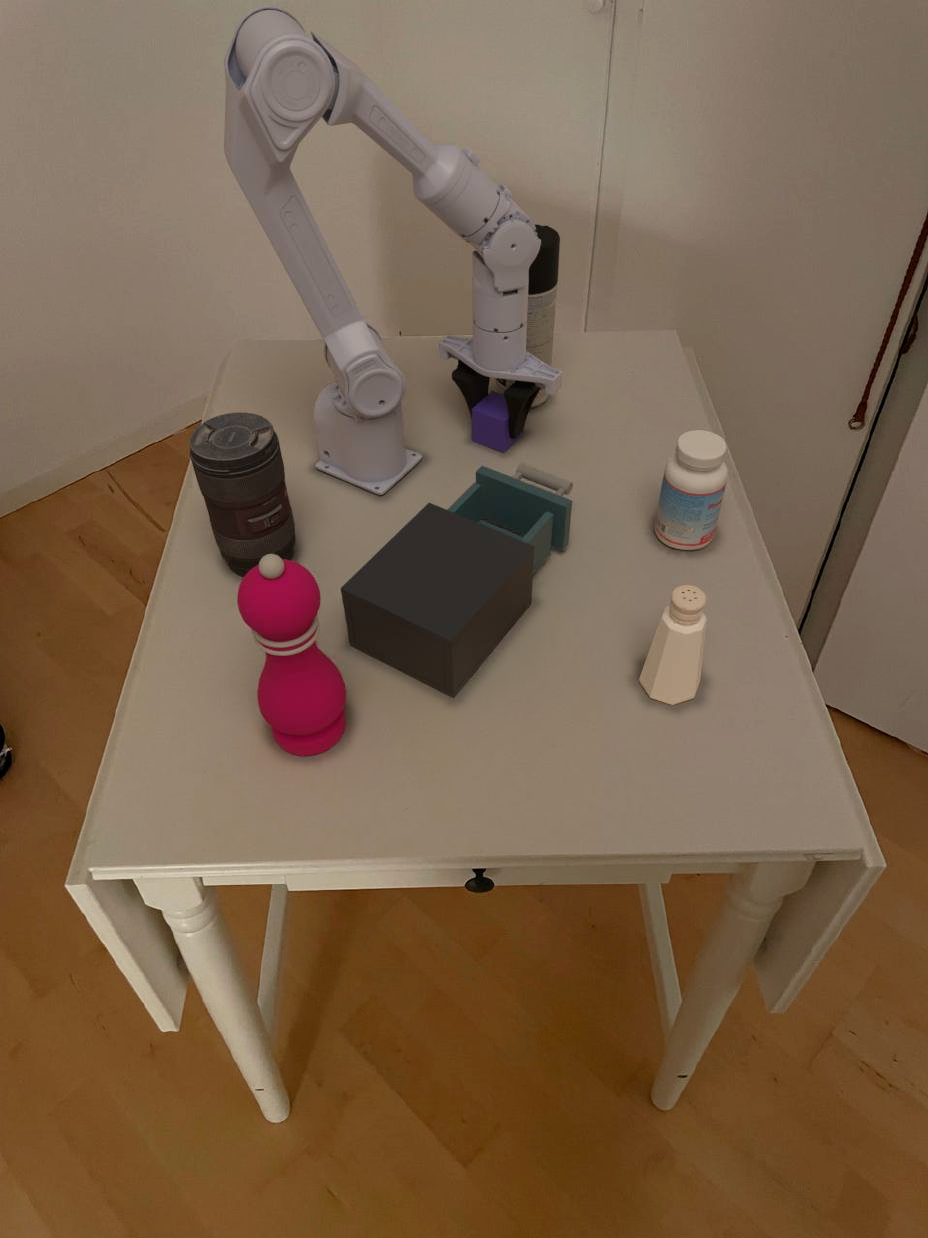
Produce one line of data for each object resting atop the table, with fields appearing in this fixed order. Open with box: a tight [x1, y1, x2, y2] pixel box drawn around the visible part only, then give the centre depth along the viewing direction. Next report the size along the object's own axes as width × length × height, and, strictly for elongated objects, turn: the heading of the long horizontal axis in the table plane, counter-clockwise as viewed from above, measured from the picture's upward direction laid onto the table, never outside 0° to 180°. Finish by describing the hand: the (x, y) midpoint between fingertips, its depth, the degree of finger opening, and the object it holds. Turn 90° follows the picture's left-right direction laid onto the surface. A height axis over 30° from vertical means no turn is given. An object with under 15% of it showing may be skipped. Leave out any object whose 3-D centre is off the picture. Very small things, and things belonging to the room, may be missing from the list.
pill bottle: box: [654, 429, 729, 551], centre depth 91 cm, size 6×6×11 cm
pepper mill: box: [236, 554, 347, 757], centre depth 71 cm, size 7×7×20 cm
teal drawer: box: [446, 462, 574, 575], centre depth 90 cm, size 17×10×6 cm, turn 147°
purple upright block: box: [471, 390, 525, 454], centre depth 105 cm, size 4×4×4 cm
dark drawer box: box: [340, 502, 534, 699], centre depth 84 cm, size 14×12×8 cm
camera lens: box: [189, 411, 296, 578], centre depth 88 cm, size 8×8×15 cm
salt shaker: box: [638, 584, 708, 706], centre depth 77 cm, size 5×5×11 cm
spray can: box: [494, 223, 561, 410], centre depth 105 cm, size 7×7×20 cm
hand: (498, 427), depth 106 cm, fingers closed on purple upright block, 4 cm apart
